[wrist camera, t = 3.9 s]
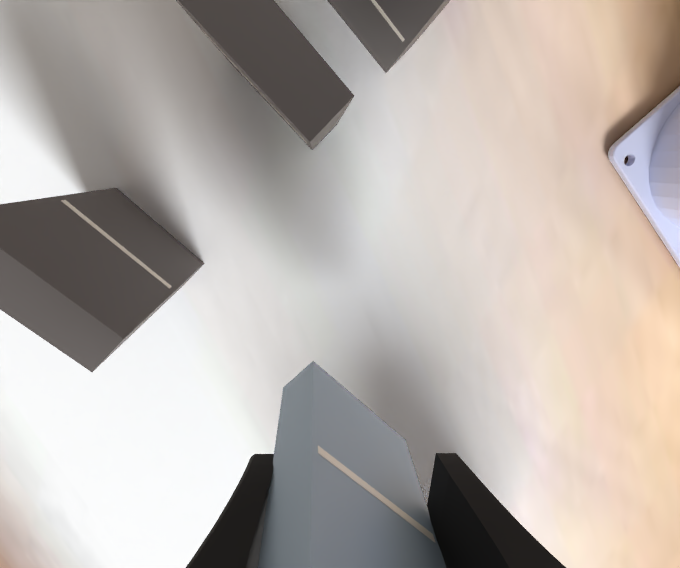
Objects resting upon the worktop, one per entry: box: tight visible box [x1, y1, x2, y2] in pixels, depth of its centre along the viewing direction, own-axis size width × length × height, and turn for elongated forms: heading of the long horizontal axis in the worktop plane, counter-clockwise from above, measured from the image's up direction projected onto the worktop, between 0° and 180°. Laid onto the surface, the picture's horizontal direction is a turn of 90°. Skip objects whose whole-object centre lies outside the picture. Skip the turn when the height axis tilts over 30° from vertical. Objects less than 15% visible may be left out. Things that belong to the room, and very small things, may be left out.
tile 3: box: [176, 0, 354, 150], centre depth 12 cm, size 2×5×8 cm, turn 44°
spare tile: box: [258, 361, 446, 568], centre depth 10 cm, size 2×5×8 cm, turn 44°
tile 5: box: [0, 188, 204, 372], centre depth 14 cm, size 2×5×8 cm, turn 44°
